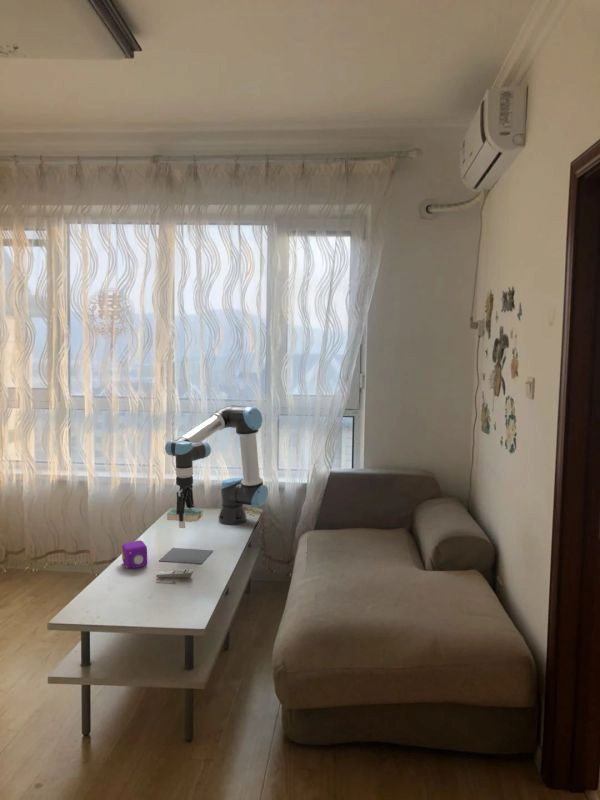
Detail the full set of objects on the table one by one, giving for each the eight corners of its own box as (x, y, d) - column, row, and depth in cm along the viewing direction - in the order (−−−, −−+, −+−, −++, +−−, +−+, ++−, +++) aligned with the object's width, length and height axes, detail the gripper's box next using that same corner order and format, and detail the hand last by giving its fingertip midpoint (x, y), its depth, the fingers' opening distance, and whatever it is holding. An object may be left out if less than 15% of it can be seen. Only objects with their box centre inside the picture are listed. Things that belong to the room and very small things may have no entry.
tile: (173, 508, 270) (202, 509, 268) (174, 514, 271) (202, 516, 268) (167, 513, 262) (196, 515, 260) (167, 520, 263) (196, 521, 260)
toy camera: (131, 573, 248) (130, 551, 247) (118, 564, 259) (117, 542, 258) (154, 567, 255) (153, 545, 254) (141, 558, 266) (140, 537, 264)
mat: (172, 548, 277) (172, 547, 277) (212, 551, 274) (212, 550, 274) (158, 561, 261) (158, 560, 261) (201, 564, 258) (201, 563, 258)
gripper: (185, 470, 274) (186, 517, 277) (167, 481, 254) (168, 531, 256) (200, 471, 273) (201, 518, 275) (183, 482, 252) (185, 532, 255)
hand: (185, 524), depth 266 cm, fingers closed on tile, 8 cm apart
